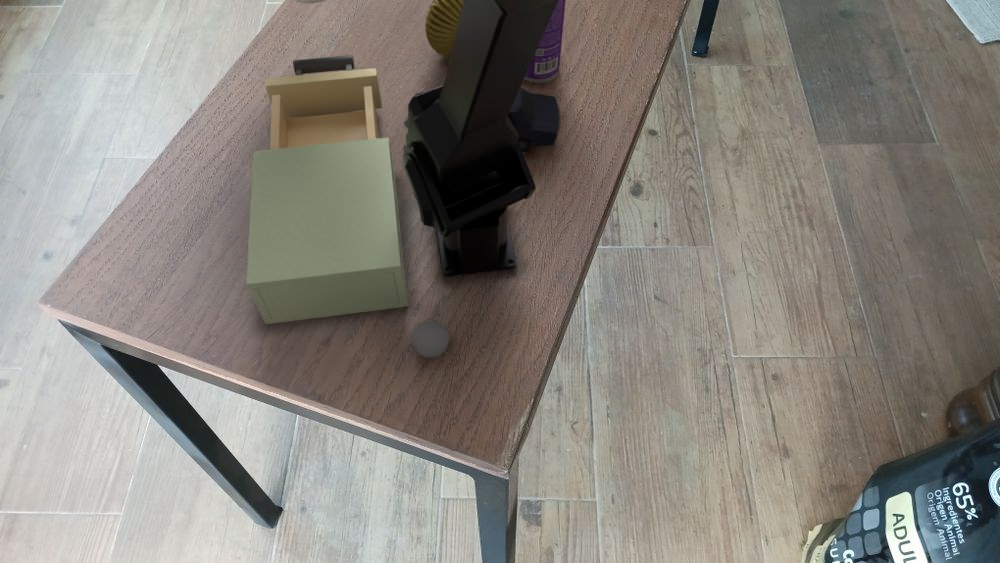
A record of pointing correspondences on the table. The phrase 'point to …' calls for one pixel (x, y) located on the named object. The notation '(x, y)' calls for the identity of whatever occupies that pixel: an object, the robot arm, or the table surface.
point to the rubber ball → (430, 339)
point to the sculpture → (443, 25)
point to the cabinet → (325, 231)
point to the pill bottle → (309, 1)
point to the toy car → (534, 119)
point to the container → (548, 49)
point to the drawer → (323, 103)
